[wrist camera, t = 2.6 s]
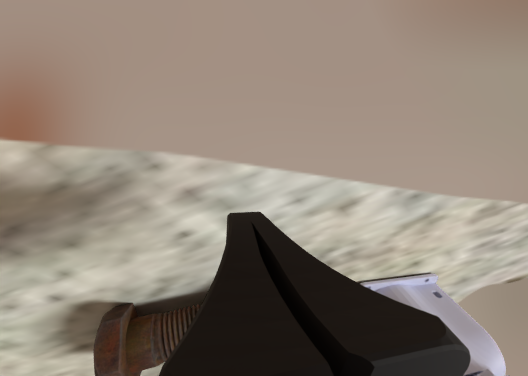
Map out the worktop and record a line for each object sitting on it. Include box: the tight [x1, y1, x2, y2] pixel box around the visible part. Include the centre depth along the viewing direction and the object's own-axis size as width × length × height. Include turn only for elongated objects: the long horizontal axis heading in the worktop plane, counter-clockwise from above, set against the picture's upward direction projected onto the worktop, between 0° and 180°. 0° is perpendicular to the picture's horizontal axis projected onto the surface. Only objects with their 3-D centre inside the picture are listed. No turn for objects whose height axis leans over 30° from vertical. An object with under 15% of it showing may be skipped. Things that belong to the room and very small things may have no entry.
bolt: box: [94, 303, 202, 376], centre depth 20 cm, size 6×5×15 cm
